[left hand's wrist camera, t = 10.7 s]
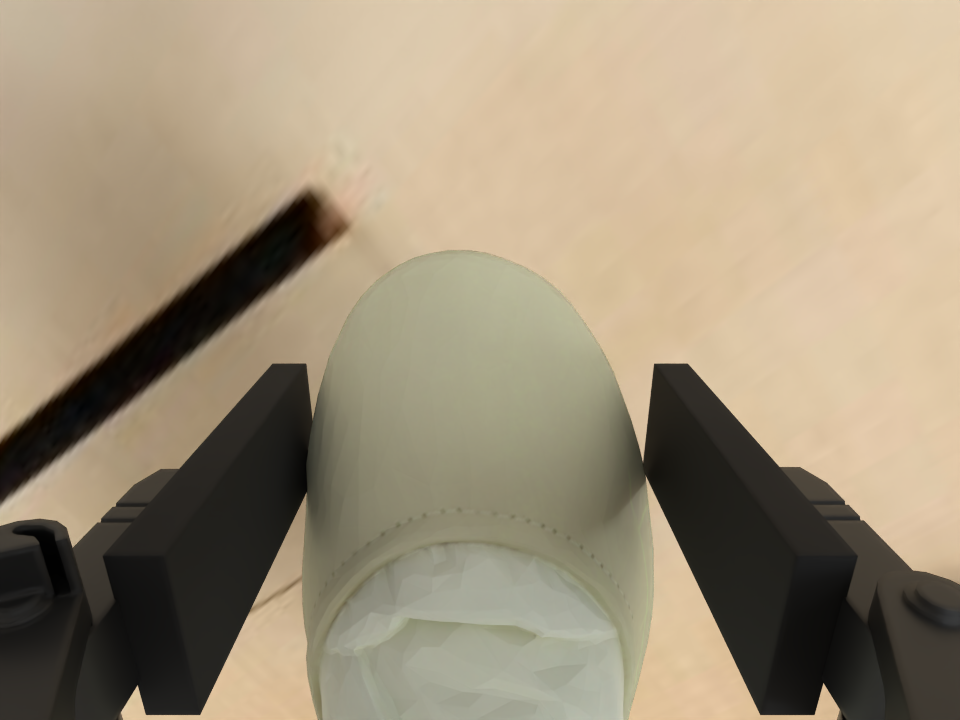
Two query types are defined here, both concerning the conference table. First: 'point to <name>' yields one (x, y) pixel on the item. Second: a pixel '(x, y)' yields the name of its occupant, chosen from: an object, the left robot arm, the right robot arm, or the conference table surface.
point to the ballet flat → (473, 507)
